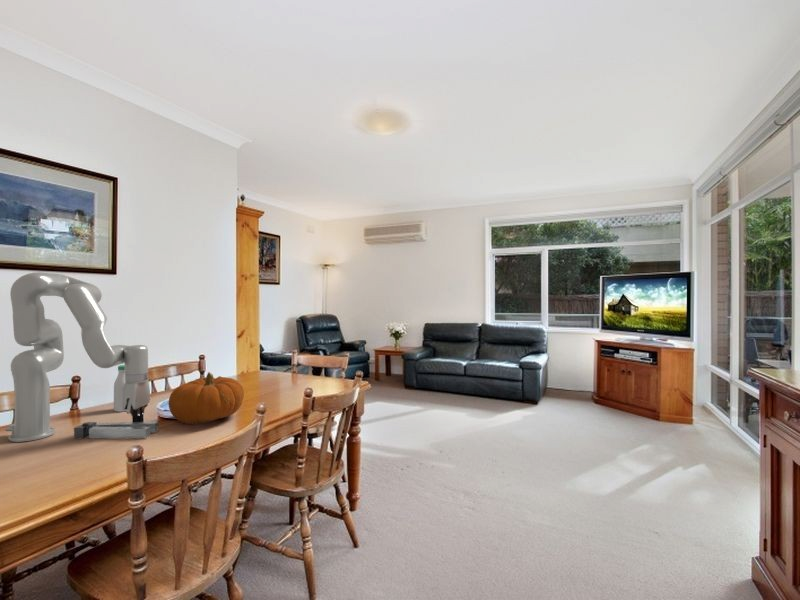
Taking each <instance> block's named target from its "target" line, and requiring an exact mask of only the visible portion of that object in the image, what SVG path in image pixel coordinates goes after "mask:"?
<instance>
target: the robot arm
mask: <svg viewBox="0 0 800 600" xmlns="http://www.w3.org/2000/svg"><path fill="white" fill-rule="evenodd" d="M102 294H103V293H102V291H101V290H100V289H99V287H97V285H95V284H92V283H90V282H89V283H88V282H86V281H83V280H80V279H77V278H74V277H71V276H68V275H65V274H62V273H61V274H60V273H53V272H40V271H39V272H38V271H37V272H31V273H27V274H26V273H25V274H23V275H21V276H20V277H18V278H17V279H16V280H14V282H13V283H12V285H11V288H10V302H11V306H12V307H11V308H12V324H13V325H12V326H13V338H14V340H15V343H16V344H18V345H20V346H23V347H33V348H32V349H27V350H24V351H22V352H20V353H17V355H16V354H15V356H14V357H13V358H12V360H11V363H10V371H11V376H12V380H13V390H14V391H13V393H14V395H13V396H14V423H11V424H8V427H6V428H5V432H11V434H10V435H9V436H8V441H9V442H12V443H13V442H14V443H22V442H31V441H35V440H41V439H44V438H47V437H50V436H52V435H53V434H55V433H56V428H55V427H51V402H50V401H51V391H50V387H51V386H50V380H49V378H48V375H47V373H48V372H49V373H50V372H51V371H54V370H57V369H58V368H59V367H61V365H62V364H63V362H64V358H65V357H64V355H65V354H64V353H65V352H64V340H63V330H62V327H61V326H60V324H59V323H58V322H57V321H55V320H54V319H49V318H46V316H45V307H44V304H43V302H42V300H41V297H44V296H45V297H47V296H48V297H51V296H52V297H60V298H61V299H62V298H63V300H64V302H65V304H66V306H67V307H68V308H69V310H70V312H71V313H72V315H73V317H74V319H75V320H76V322H77V324H78V325H79V327H80V334H81V336H80V337H81V342H82V346H83V349H84V351H85V353H86V354H87V356H89V359H90V360H91V362H92V363H93V364H94V365H96V366H97V367H98V368H100V369H109V368H113V367H116V366H120V365H125V384H124V388H123V400H122V407H123V409H124V410H126V409H127V411H126V414H129V415H130V416H131V417H132V418H131V419H132V421H131V422H145V421H144V414H145V409H146V408H147V407H149V406H148V405H149V403H150V401H151V389H150V388H151V387H150V382H149V351H148V350H149V349H148V347H147V345H145V344H135V345H124V344H115V345H110V344H109V342H108V341H107V339H106V336H105V334H104V333H105V332H104V329H105V328H104V327H105V325H106V322H107V321H108V318H107V316H106V314H105V312H104V311H103V309H102V308H101V306H100V304H99V303H100V301H101V300H102Z"/></svg>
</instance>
